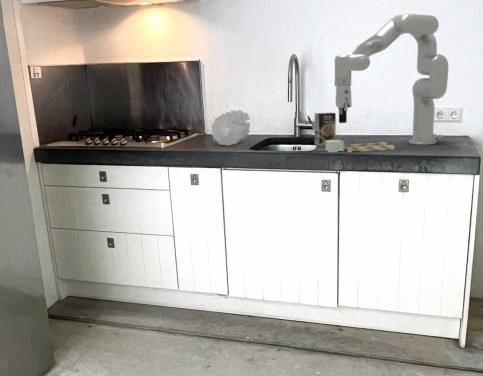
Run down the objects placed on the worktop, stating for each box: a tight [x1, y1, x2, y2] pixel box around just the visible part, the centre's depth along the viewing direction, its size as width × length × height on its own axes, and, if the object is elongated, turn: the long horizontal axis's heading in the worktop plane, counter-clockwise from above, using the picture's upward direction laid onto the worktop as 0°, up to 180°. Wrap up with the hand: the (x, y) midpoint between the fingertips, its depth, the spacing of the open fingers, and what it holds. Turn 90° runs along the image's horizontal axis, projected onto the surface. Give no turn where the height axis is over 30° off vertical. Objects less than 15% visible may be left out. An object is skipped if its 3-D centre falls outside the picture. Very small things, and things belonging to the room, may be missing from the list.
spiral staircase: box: [210, 109, 251, 146], centre depth 276 cm, size 18×18×25 cm
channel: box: [344, 141, 395, 153], centre depth 242 cm, size 22×10×2 cm, turn 96°
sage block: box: [325, 139, 345, 153], centre depth 241 cm, size 7×6×5 cm
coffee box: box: [314, 112, 337, 147], centre depth 259 cm, size 9×6×16 cm
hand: (342, 122), depth 238 cm, fingers closed
